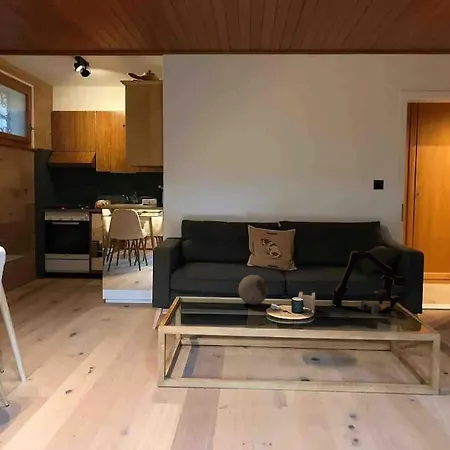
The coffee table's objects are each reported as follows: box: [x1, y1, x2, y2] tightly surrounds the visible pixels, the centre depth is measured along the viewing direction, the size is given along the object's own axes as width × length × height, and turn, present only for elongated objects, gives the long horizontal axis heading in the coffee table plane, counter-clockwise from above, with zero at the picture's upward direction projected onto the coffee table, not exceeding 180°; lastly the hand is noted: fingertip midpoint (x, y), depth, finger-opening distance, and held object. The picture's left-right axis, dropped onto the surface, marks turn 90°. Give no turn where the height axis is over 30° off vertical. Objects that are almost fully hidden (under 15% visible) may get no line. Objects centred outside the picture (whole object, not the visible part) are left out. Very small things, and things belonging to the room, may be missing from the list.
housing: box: [357, 300, 382, 317], centre depth 354 cm, size 18×4×6 cm, turn 30°
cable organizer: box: [297, 291, 316, 312], centre depth 347 cm, size 15×11×12 cm
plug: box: [378, 305, 387, 313], centre depth 359 cm, size 14×4×4 cm, turn 120°
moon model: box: [238, 274, 269, 306], centre depth 357 cm, size 20×20×20 cm
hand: (385, 308), depth 362 cm, fingers open, 9 cm apart
